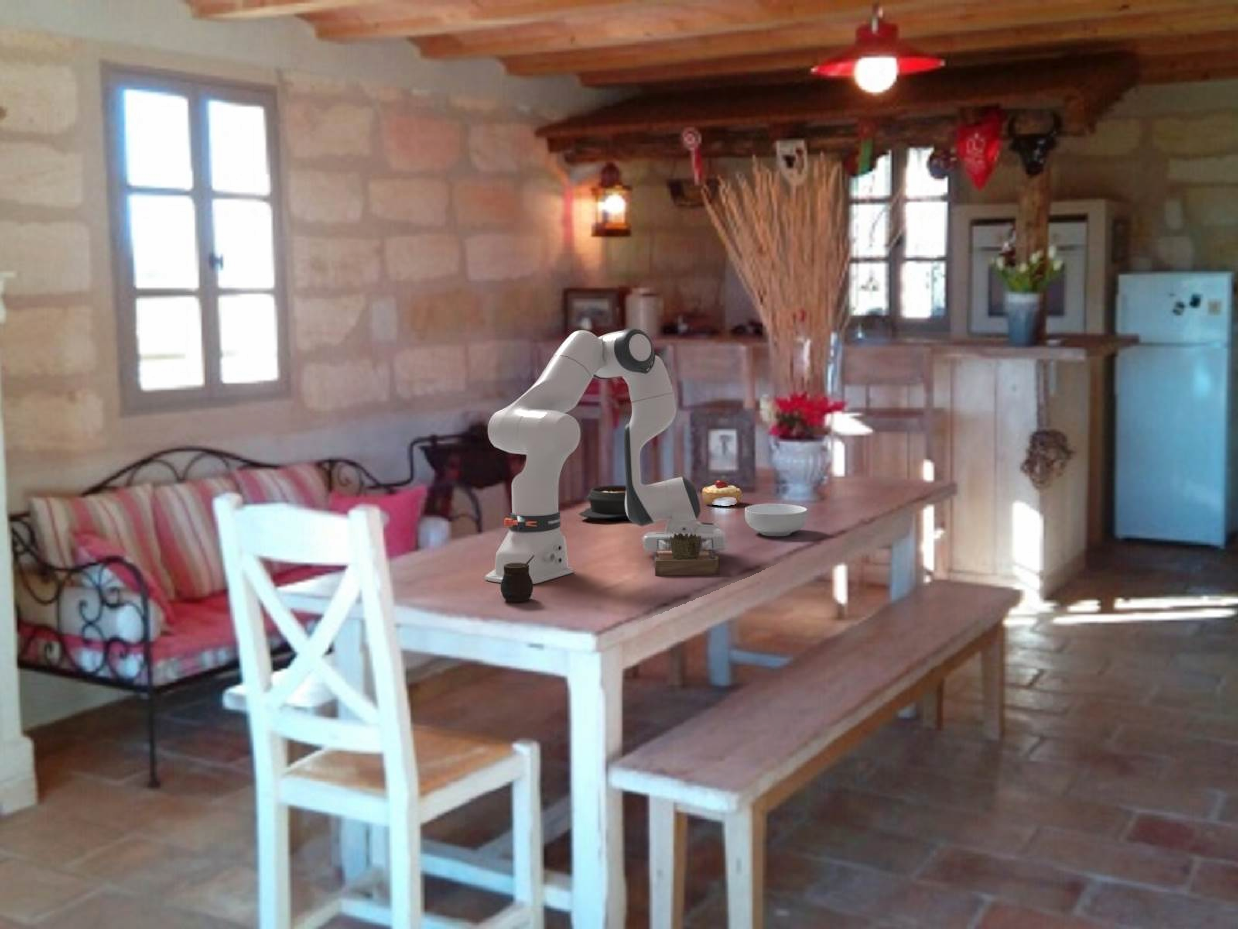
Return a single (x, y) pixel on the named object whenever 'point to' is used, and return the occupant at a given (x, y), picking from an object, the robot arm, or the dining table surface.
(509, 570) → the mate gourd
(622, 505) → the casserole
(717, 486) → the pastry
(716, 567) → the brown wooden tray
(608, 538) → the dining table surface
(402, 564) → the dining table surface
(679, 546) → the cup
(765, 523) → the cereal bowl
